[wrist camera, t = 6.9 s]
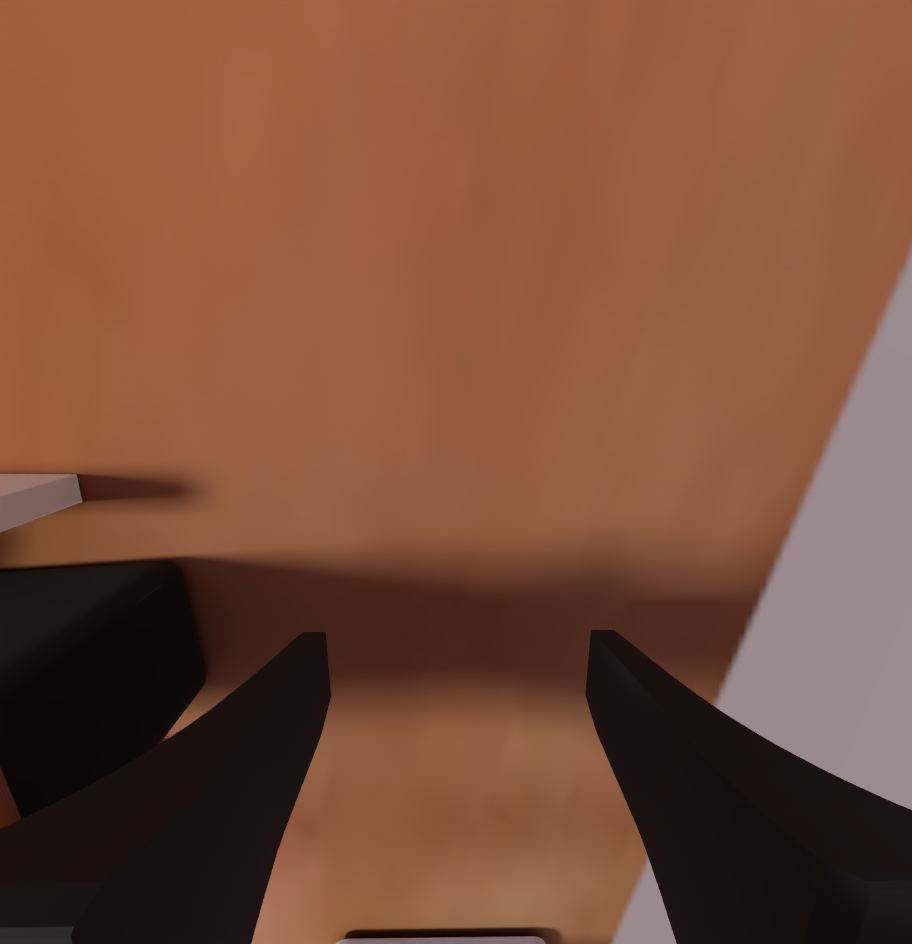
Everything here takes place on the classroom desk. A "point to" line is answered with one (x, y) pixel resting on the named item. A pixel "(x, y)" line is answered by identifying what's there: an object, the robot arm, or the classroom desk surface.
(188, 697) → the battery
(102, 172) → the classroom desk surface
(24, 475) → the charging bay
